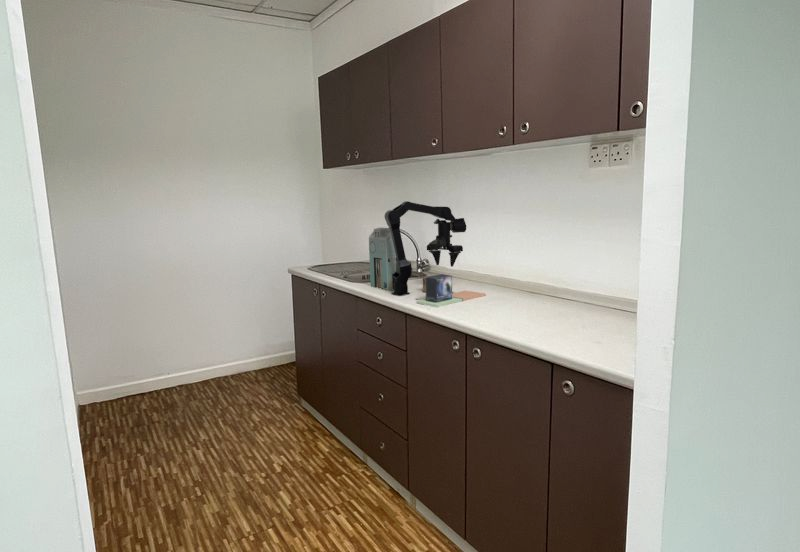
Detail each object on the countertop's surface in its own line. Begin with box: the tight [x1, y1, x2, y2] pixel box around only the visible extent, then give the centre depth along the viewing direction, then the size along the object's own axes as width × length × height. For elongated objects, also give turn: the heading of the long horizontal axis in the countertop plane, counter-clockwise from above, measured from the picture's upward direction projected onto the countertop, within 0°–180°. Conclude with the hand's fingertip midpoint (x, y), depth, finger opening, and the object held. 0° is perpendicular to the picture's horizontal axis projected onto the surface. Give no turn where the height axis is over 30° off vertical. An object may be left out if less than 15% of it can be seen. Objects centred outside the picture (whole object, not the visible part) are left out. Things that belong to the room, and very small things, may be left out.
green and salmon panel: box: [416, 290, 486, 308], centre depth 229 cm, size 12×32×1 cm, turn 133°
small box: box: [425, 273, 453, 302], centre depth 222 cm, size 11×6×10 cm, turn 133°
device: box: [368, 227, 397, 292], centre depth 261 cm, size 16×8×30 cm, turn 34°
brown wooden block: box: [422, 276, 455, 294], centre depth 244 cm, size 14×6×7 cm, turn 43°
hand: (444, 265), depth 249 cm, fingers open, 9 cm apart
